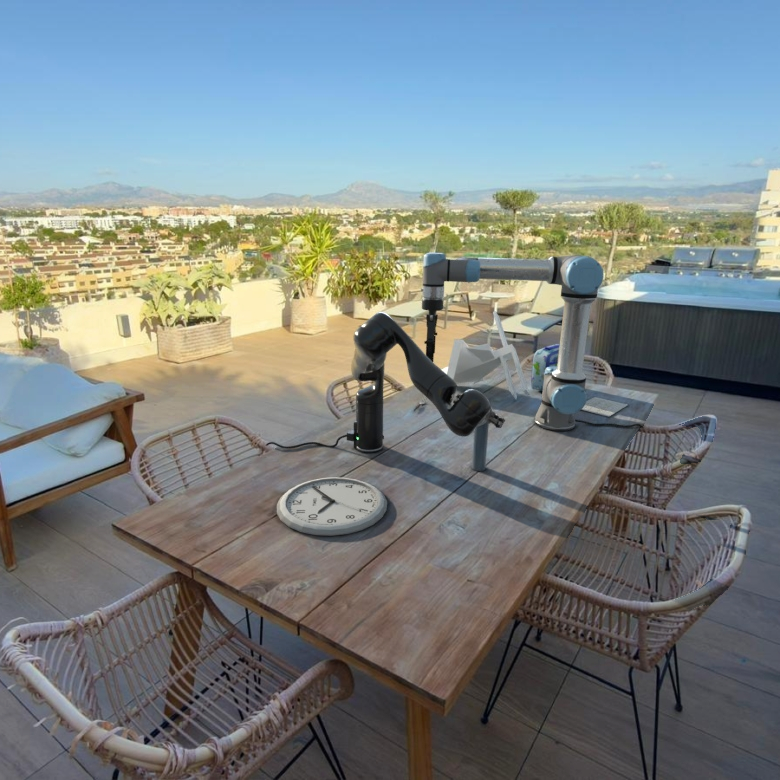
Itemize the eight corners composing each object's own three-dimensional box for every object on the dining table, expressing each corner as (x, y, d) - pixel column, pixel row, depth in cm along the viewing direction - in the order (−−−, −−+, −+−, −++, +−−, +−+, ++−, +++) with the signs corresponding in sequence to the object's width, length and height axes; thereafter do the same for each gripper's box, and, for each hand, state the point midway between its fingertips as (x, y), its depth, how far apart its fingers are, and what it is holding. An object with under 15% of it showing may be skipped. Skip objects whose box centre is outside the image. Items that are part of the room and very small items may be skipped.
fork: (410, 411, 216) (410, 407, 215) (421, 400, 230) (421, 396, 229) (416, 412, 215) (416, 408, 214) (427, 401, 229) (427, 396, 228)
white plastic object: (461, 429, 252) (437, 405, 227) (444, 352, 274) (420, 323, 250) (535, 404, 240) (518, 377, 215) (510, 326, 262) (492, 293, 237)
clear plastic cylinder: (482, 472, 164) (486, 418, 158) (469, 469, 166) (473, 416, 160) (487, 467, 167) (491, 414, 162) (474, 464, 169) (478, 412, 164)
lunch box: (547, 396, 238) (552, 351, 232) (526, 391, 246) (531, 347, 239) (574, 385, 256) (579, 343, 250) (554, 380, 263) (559, 340, 257)
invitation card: (608, 416, 214) (573, 407, 224) (608, 416, 214) (573, 408, 224) (628, 404, 229) (594, 396, 238) (628, 405, 229) (594, 397, 238)
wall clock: (392, 527, 129) (268, 531, 127) (391, 533, 130) (269, 537, 127) (383, 473, 158) (282, 475, 155) (383, 478, 158) (282, 480, 156)
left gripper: (443, 410, 133) (452, 409, 148) (493, 438, 129) (497, 435, 145) (457, 384, 132) (465, 386, 148) (508, 412, 128) (510, 411, 144)
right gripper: (424, 293, 195) (422, 349, 202) (419, 302, 172) (417, 365, 178) (444, 294, 195) (441, 350, 201) (442, 303, 171) (439, 366, 177)
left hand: (481, 410), depth 146 cm, fingers open, 8 cm apart
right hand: (430, 357), depth 190 cm, fingers open, 13 cm apart
